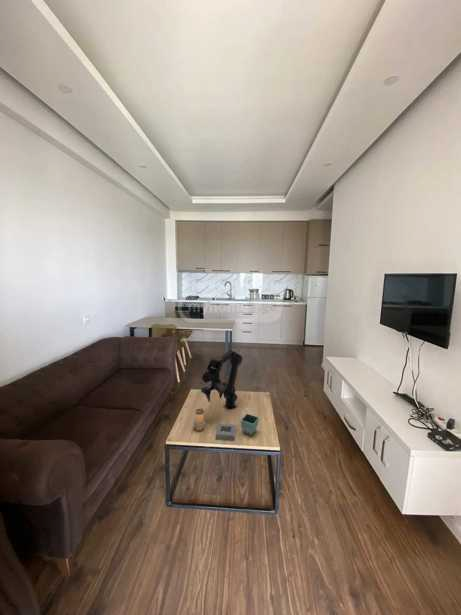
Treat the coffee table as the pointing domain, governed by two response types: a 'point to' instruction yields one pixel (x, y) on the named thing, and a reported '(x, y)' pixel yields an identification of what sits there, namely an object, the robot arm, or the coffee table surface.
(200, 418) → the plug
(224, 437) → the socket
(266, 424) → the coffee table surface
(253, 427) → the flower pot
